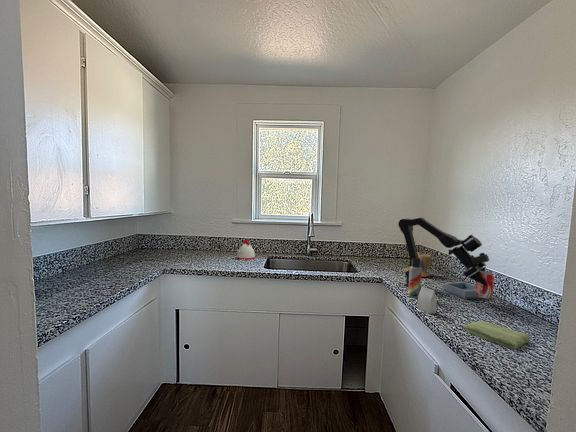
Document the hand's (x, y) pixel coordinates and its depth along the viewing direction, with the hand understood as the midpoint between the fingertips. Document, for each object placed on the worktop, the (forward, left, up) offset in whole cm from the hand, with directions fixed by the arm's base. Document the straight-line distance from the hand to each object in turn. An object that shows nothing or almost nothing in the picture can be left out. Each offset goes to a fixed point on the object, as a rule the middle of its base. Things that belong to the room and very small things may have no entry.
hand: (488, 283), depth 141 cm
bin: (+2, +15, -10) cm, 18 cm away
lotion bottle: (-28, +17, -10) cm, 34 cm away
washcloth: (-27, -27, -11) cm, 40 cm away
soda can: (-1, +1, -7) cm, 7 cm away
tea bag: (-35, 0, -10) cm, 36 cm away
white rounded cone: (-102, +120, -10) cm, 158 cm away
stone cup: (+4, +53, -10) cm, 54 cm away
